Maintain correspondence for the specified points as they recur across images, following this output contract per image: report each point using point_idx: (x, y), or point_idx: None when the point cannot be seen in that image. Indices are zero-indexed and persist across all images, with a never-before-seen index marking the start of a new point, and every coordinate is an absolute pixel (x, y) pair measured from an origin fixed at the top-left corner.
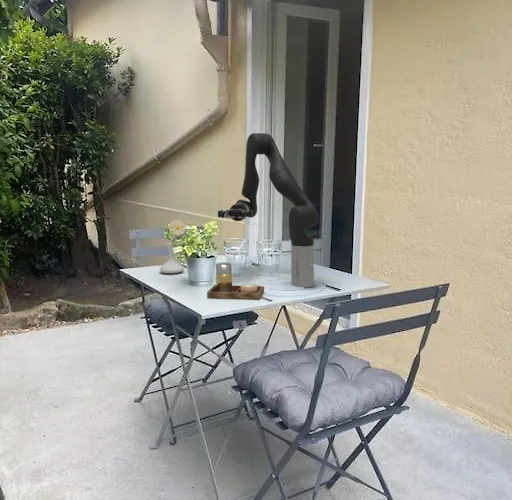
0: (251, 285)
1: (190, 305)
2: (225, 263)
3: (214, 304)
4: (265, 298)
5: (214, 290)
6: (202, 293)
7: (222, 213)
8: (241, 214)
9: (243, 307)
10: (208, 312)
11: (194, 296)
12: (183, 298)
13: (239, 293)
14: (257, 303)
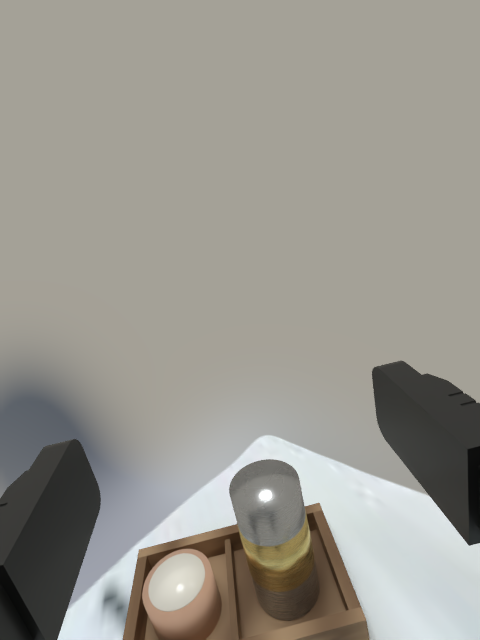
0: (165, 575)
1: (334, 465)
2: (261, 498)
3: None
4: (124, 619)
5: (336, 581)
6: (407, 602)
7: (374, 372)
8: (85, 457)
9: (189, 500)
10: (261, 444)
11: (399, 546)
12: (413, 511)
13: (208, 532)
14: None
